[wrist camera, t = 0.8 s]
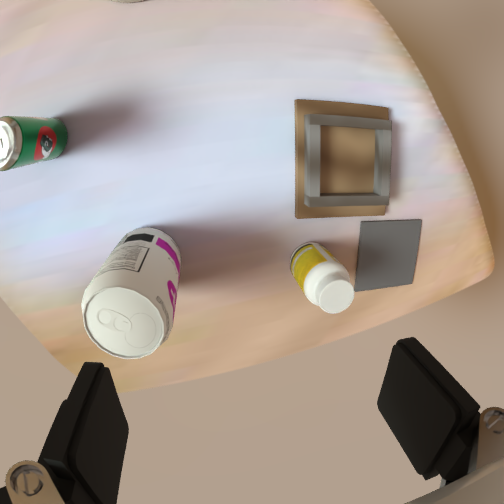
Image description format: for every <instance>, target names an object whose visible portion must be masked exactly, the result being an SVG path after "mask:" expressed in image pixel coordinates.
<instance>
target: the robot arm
mask: <svg viewBox="0 0 504 504" xmlns="http://www.w3.org/2000/svg"><path fill="white" fill-rule="evenodd" d="M111 1H116V2H123V3H131V2H139V1H143V0H111ZM377 405H378V409H379V411H380V412H381V414H382V416H383V417H384V419H385V420H386V422H387V424H388V425H389V427H390V429H391V430H392V432H393V434H394V435H395V437H396V438H397V440H398V442H399V443H400V445H401V447H402V448H403V450H404V452H405V453H406V455H407V456H408V458H409V460H410V462H411V463H412V465H413V467H414V468H415V470H416V471H417V473H418V474H420V475H423V477H424V479H425V480H428V479H430V478H433V477H435V476H437V475H438V474H440V475H441V477H442V480H441V485H440V488H439V489H437V490H435V491H433V492H431V493H429V494H426V495H424V496H422V497H419V498H417V499H415V500H412V501H410V502H407V503H405V504H504V409H502V408H499V407H490V408H487V409H485V410H484V411H483V412H482V413H481V414H480V413H479V412H478V410H479V408H480V405H479V404H478V403H477V402H476V401H475V400H474V399H473V398H472V397H471V396H470V395H469V393H468V392H467V391H466V390H465V389H464V388H463V387H462V386H461V385H460V384H459V383H458V382H457V381H456V380H455V379H454V377H453V376H452V375H451V374H450V373H449V372H448V371H447V370H446V369H445V368H444V367H443V366H442V365H441V364H440V363H439V362H438V361H437V360H436V359H435V358H434V357H433V356H432V355H431V354H430V352H429V351H428V350H427V349H426V348H425V347H424V346H423V345H422V344H421V343H420V342H419V341H418V340H417V339H416V338H414V337H411V338H405V339H400V340H398V341H397V343H396V345H394V346H393V348H392V352H391V356H390V359H389V363H388V367H387V371H386V374H385V377H384V381H383V384H382V388H381V391H380V394H379V397H378V401H377ZM128 430H129V428H128V423H127V420H126V418H125V415H124V412H123V409H122V407H121V404H120V401H119V398H118V395H117V392H116V389H115V386H114V382H113V379H112V376H111V373H110V370H109V368H108V367H104V365H103V363H98V362H85V363H84V364H83V366H82V368H81V370H80V372H79V374H78V377H77V379H76V381H75V383H74V385H73V387H72V390H71V392H70V394H69V396H68V398H67V400H64V401H63V402H62V404H61V406H60V408H59V411H58V413H57V415H56V417H55V420H54V422H53V424H52V427H51V429H50V432H49V434H48V436H47V439H46V441H45V444H44V446H43V449H42V452H41V454H40V457H39V459H38V462H35V461H29V460H25V461H21V462H18V463H16V464H14V465H13V466H12V467H11V468H10V469H9V470H8V472H7V474H6V479H5V482H6V486H5V487H3V488H0V504H116V503H117V495H118V490H119V483H120V477H121V471H122V466H123V460H124V454H125V449H126V443H127V438H128V433H129V432H128Z"/></svg>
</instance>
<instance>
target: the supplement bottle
mask: <svg viewBox="0 0 504 504" xmlns="http://www.w3.org/2000/svg"><path fill="white" fill-rule="evenodd" d="M290 270H291V272H292V275H293V276H294V278H295V279H296V281H297V283H298V284H299V286H300V287H301V289H302V291H303V292H304V294H305V296H306V297H307V298H308V300H309V301H310V302H312V303H313V304H315V305H317V306H320V307H321V308H322V310H324V311H325V312H327V313H331V314H335V313H339V312H342V311H344V310H345V309H346V308H348V307H349V305H350V304H351V303H352V301H353V298H354V288H353V286H352V284H351V283H350V277H349V273H348V271H347V270H346V268H345V267H344V266H343V265H342V264H341V263H340V262H339V261H338V260H337V259H336V258H335V257H334V256H333V255H332V254H331V253H330V252H329V251H328V250H327V249H326V248H325V247H324V246H322V245H321V244H318V243H314V242H310V243H305V244H303V245H301V246H299V247H298V248H297V249H296V250H295V251H294V252H293V254H292V256H291V259H290Z"/></svg>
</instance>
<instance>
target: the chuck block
mask: <svg viewBox="0 0 504 504" xmlns="http://www.w3.org/2000/svg"><path fill="white" fill-rule="evenodd" d="M391 139H392V121H389V119H388V108H387V107H379V106H371V105H363V104H354V103H344V102H332V101H318V100H300V99H297V100H295V217H296V218H297V219H303V218H325V217H350V216H379V215H385V205H388V204H389V190H390V172H391Z"/></svg>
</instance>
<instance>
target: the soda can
mask: <svg viewBox="0 0 504 504" xmlns="http://www.w3.org/2000/svg"><path fill="white" fill-rule="evenodd" d="M66 143H67V130H66V128H65V126H64V124H63V123H62V122H61V121H60V120H58V119H55V118H42V117H19V116H4V117H1V118H0V171H6V170H10V169H14V168H17V167H22V166H26V165H30V164H34V163H38V162H43V161H47V160H52V159H55V158H56V157H58V156H59V155H60V154H61V153H62V152H63V150H64V149H65V146H66Z"/></svg>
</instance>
